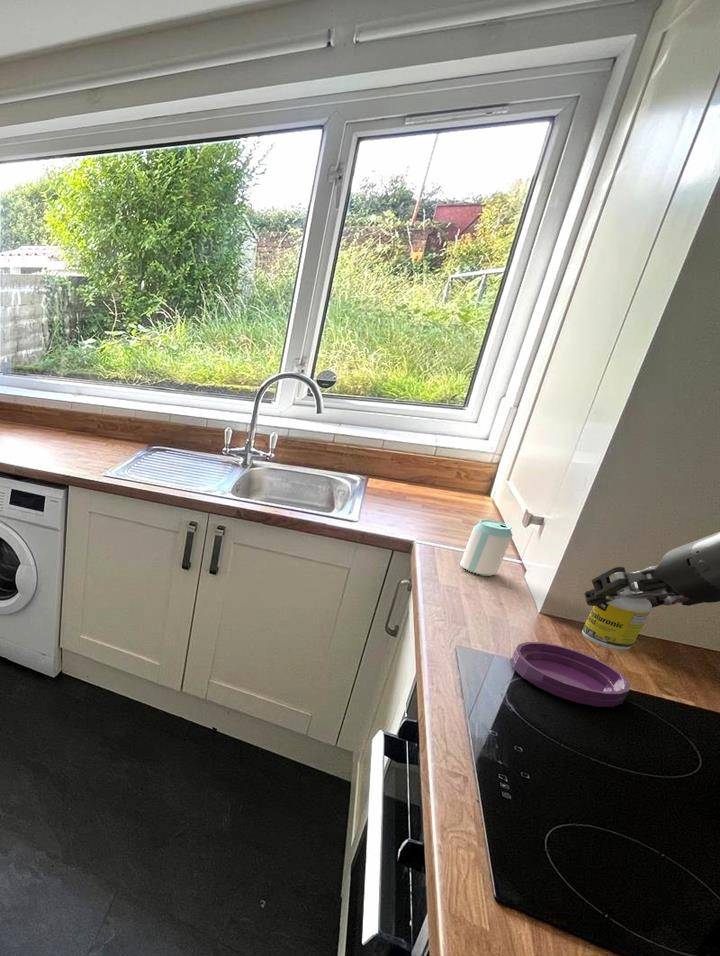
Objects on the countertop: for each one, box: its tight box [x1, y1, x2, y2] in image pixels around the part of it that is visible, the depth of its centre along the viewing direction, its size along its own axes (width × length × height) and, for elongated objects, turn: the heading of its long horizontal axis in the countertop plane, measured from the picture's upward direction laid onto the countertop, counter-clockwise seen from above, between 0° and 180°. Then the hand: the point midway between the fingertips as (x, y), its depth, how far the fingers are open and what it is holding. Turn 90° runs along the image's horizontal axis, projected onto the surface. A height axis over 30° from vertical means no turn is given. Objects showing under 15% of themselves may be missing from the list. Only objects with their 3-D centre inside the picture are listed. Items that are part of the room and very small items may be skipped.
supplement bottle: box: [581, 582, 653, 651], centre depth 85 cm, size 5×5×10 cm
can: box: [459, 519, 513, 577], centre depth 136 cm, size 7×7×12 cm
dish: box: [509, 641, 631, 708], centre depth 98 cm, size 14×14×3 cm
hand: (611, 601), depth 86 cm, fingers closed on supplement bottle, 5 cm apart
